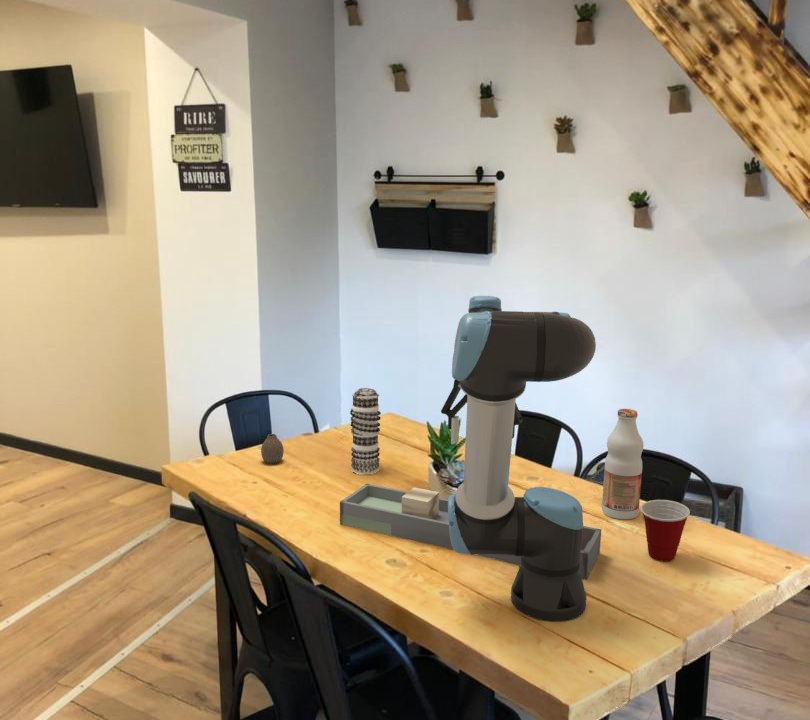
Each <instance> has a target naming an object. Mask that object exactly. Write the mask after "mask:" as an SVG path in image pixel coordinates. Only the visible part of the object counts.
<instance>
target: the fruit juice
mask: <svg viewBox="0 0 810 720" xmlns="http://www.w3.org/2000/svg"><path fill="white" fill-rule="evenodd" d="M617 410H618V411H617V418H618V419H617V422H616V425H615V427H614V428H613V430H612V432H611V433H610V434H609V436H608V437H607V441H606V442H607V443H606V447H607V451H608V452H607V455H606V457H605V460H604V461H605V462H604V469H603V470H604V472H603V486H602V498H601V499H602V500H601V512H602V513H603V514H604V515H605V516H607V517H610V518H613V519H616V520H617V519H618V520H631V519H636V518H637V517H638V515H639V511H640V499H641V490H642V489H641V488H642V487H641V486H642V474H643V460H642V452H643V450H644V440H643V438H642V436H641V434H640V432H639V430H638V427H637V419H638V411H637V410H635V409H633V408H619V409H617Z"/></svg>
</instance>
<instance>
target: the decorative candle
mask: <svg viewBox="0 0 810 720" xmlns="http://www.w3.org/2000/svg"><path fill="white" fill-rule="evenodd" d="M351 396H352V405H351V406H352V407H351V408H350V412H349V414H350V415H351V417H350V426H351V429H350V432H351V435H352V444H351V445H352V447H351V449H350V451H352V452H351V454H350V455H351V459H350V462H351V465H350V466H351V472H352V471H353V472H355V473H358V474H357V475H360V474H371V475H373V474H372V473H375V472H377V471H379V472H380V449H381V448H380V447H379V441H378V440H379V435H380V432H381V428H380V426H381V423H380V422H379V421H380V420H381V416H380V415H381V414H382V413H381V411H380V410H379V407H380V405H379V397H380V394H379V393H378V392H377V391H376V390H375V389H374V388H369V387H368V388H367V387H364V388H363V387H362V388H358V389H356V390H355V392H353V393H352V395H351ZM353 472H352V473H353ZM355 473H354V474H355ZM377 473H378V472H377ZM375 474H376V473H375Z"/></svg>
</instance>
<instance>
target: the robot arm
mask: <svg viewBox="0 0 810 720" xmlns="http://www.w3.org/2000/svg"><path fill="white" fill-rule="evenodd" d="M468 302H469V303H468V312H467V313H465V314H463V315H462V316H461V318H460V319H459V322H458V324H457V329H456V333H455V338H454V339H455V340H454V344H453V345H454V347H453V355H452V361H451V377H452V378H453V387H452V389H451V391H450V393H449V395H448V396H447V399H446V401H444V402H445V403H444V404H443V406H442V408H441V410H440V412H441V414H442V415H446V416H447V417H448V418H447V419H448V421H447V428H448V429H447V430H450V444H451V445H455V444H457V443H458V442H459V426H460V421H459V419H460V417H459V415H457V414H458V412H459V411H461V409H462V408H463V407H465V405H466V420H465V421H466V422H465V423H466V424H465V425H466V426H465V441H464V442H465V446H464V447H465V448H464V465H463V467H464V470H463V471H464V472H463V482H462V483H461V484H460V485H459V486H458V488H457V489H456V491H455V493H454V494H450V495H449V496H448V498H447V499H448V520H449V533H450V540H451V545H452V548H453V549H454V550H453V551H455V552H456V553H457V554H458V553H459V554H463V555H470V556H479V555H501V556H521V565H519V568H518V570H517V572H516V575H515V577H514V580H513V583H512V585H511V588H510V601H511V604H512V605H513V607H514V608H515V609H516V610H517V611H519V612H520V613H522V614H523V615H524V616H527V617H530V618H533V619H535V620H540V621H546V622H566V621H571V620H574V619H576V618H579V617H580V616H582V615H583V614H584V613H585V611H586V609H587V593H586V590H585V585H584V583H583V579H582V578H581V574H580V571H579V566H580V552H581V537H582V528H583V526H584V522H583V521H584V520H583V519H584V518H583V517H584V515H583V513H584V512H583V506H582V504H581V502H580V501H579V500H578V499H577V498H576V497H574V496H573V495H571V494H569V493H568V492H565V491H562V490H560V489H556V488H551V487H545V486H534V487H530V488H527V489H526V490H525V491H524V492H523V493H524V494H523V496H515V493H514V492H513V490H512V488H511V487H510V486H509V479H510V466H511V457H512V448H513V447H512V445H513V439H514V438H515V431H516V429H515V428H516V426H518V425H519V426H520V424H521V423H524V420H523V417H522V414H521V411H520V409H519V407H518V404H517V402H516V399H518V398H519V397H521V396H522V395H523V394H524V393H525V391H526V388H527V382H530V383H531V382H532V383H533V382H535V383H541V382H542V383H545V382H546V383H547V382H548V383H549V382H551V383H552V382H558V381H561V380H565V379H568V378H571V377H573V376H574V375H576V374H578V373H580V372H581V371H583V370H584V369H585V368H586V367H588V365H589V364H590V363H591V362H592V360H593V358H594V356H595V353H596V350H597V349H596V346H597V342H596V337H595V335H594V332H593V330H592V329H591V327H589V326H588V325H587V324H586V323H585V322H584V321H582V320H580V319H578V318H575V317H571V315H570V313H568V312H560V311H518V310H517V311H514V310H512V311H510V310H509V311H508V310H502V300H501V298H500V297H499V296H493V295H492V296H491V295H476V296H472V297H470V298H469V301H468ZM460 391H462V392H464V395H463V397H462V398H461V399H460V400H459V401H458V402H457V403H456V404H455V405H454V403H455V401H456V399H457V397H458V395H459V393H460ZM453 405H454V407H452V406H453ZM451 408H452V409H451Z"/></svg>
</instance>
